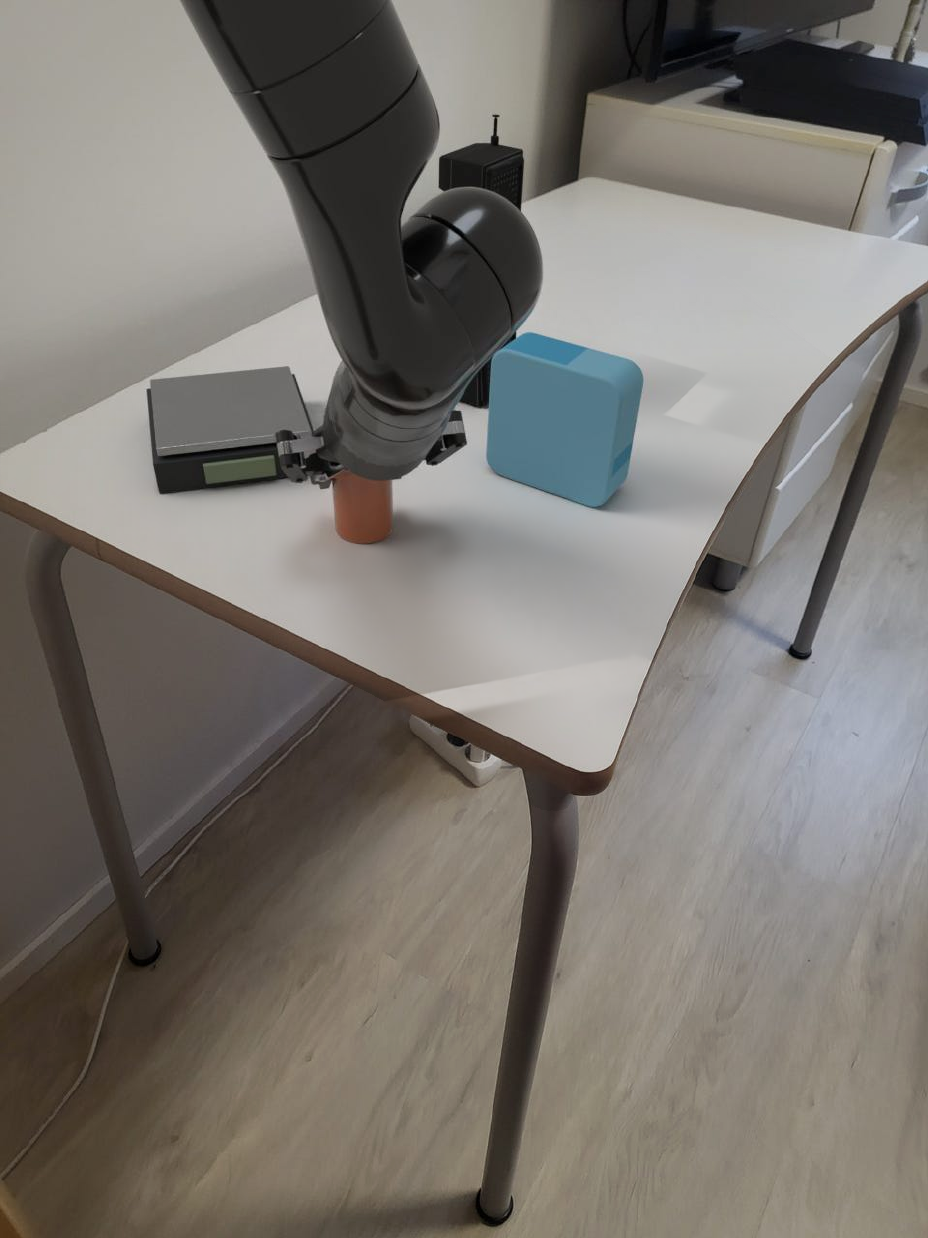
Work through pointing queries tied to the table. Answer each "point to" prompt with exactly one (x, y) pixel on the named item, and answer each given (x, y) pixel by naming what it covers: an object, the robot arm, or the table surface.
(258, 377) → the scale pan
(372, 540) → the spice tin
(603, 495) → the data package
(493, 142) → the portable radio
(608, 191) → the table surface
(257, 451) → the scale
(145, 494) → the table surface
